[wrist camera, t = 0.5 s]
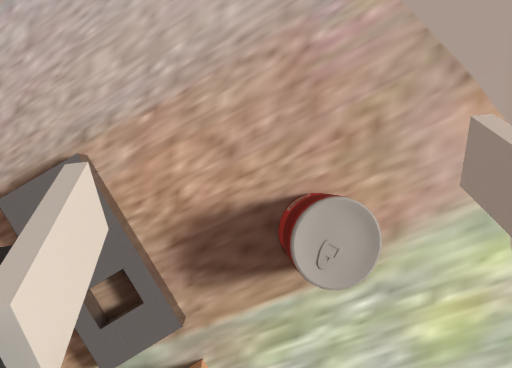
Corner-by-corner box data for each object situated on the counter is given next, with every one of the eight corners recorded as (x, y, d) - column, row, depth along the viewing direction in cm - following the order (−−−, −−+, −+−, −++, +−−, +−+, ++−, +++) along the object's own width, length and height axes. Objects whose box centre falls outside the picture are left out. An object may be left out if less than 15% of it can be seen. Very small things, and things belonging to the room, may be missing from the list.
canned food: (269, 256, 48) (280, 279, 37) (288, 184, 48) (305, 185, 37) (337, 273, 48) (369, 301, 37) (356, 202, 48) (393, 208, 37)
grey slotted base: (185, 317, 47) (182, 326, 44) (111, 362, 47) (103, 374, 44) (87, 155, 47) (76, 153, 44) (11, 199, 46) (-4, 200, 43)
